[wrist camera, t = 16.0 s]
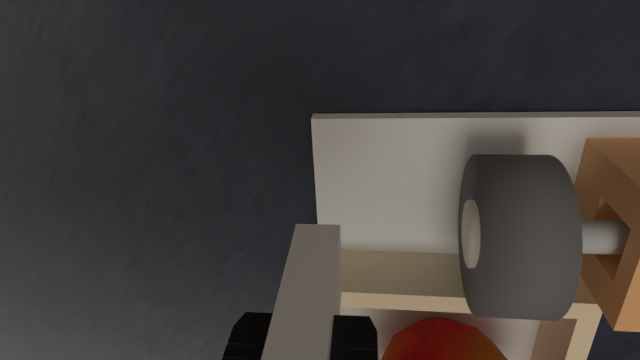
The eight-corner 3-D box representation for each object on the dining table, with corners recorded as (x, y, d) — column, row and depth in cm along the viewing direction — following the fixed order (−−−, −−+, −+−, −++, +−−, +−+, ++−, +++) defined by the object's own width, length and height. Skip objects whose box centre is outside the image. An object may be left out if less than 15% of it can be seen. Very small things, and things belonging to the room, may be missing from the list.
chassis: (330, 393, 32) (318, 495, 26) (313, 113, 22) (287, 174, 16) (557, 411, 30) (601, 526, 24) (653, 111, 20) (769, 180, 14)
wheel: (450, 249, 24) (473, 353, 18) (463, 130, 21) (497, 207, 14) (611, 254, 23) (696, 368, 17) (651, 129, 19) (775, 212, 13)
